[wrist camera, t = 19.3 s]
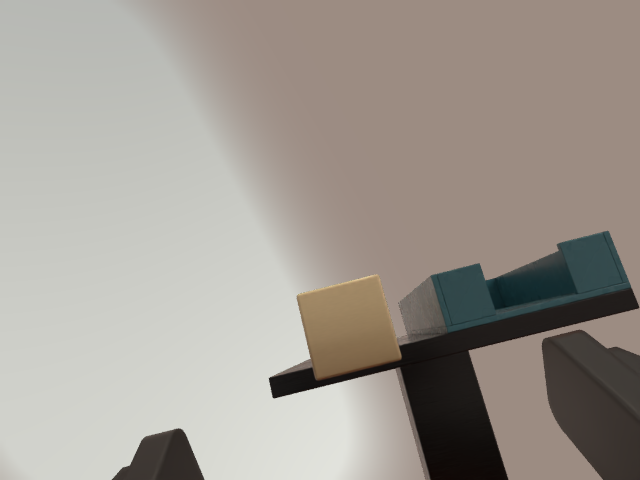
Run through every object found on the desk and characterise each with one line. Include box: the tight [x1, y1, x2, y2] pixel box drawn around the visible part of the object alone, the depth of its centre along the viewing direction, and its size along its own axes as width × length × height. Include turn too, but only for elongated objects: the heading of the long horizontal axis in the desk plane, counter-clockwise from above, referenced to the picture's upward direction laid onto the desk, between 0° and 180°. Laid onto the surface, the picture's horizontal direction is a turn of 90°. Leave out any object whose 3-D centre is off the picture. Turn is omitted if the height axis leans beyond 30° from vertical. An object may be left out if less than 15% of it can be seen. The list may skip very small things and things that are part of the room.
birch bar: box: [297, 275, 402, 380], centre depth 25 cm, size 26×2×2 cm, turn 174°
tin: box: [399, 231, 631, 335], centre depth 31 cm, size 18×9×3 cm, turn 174°
